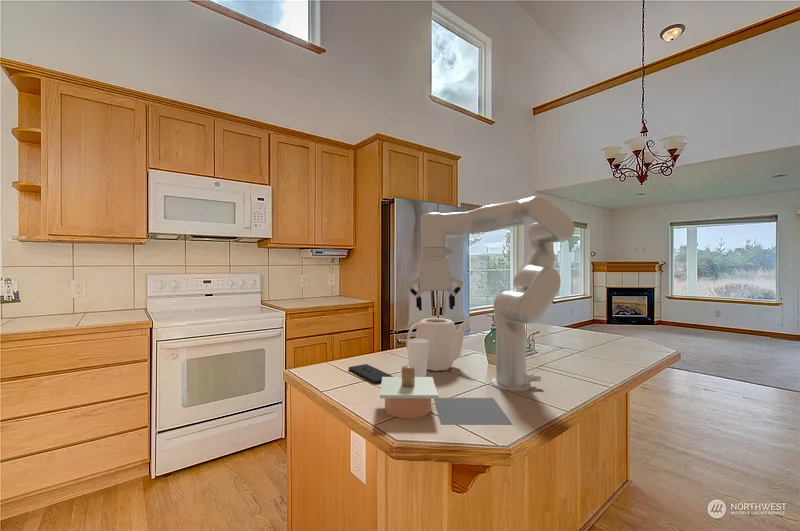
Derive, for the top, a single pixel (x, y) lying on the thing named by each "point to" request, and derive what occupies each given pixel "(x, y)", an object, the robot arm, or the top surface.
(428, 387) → the cover sheet
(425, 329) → the watering can
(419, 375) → the drinking glass
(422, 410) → the bowl
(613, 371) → the top surface
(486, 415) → the mat
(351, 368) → the smart home device
